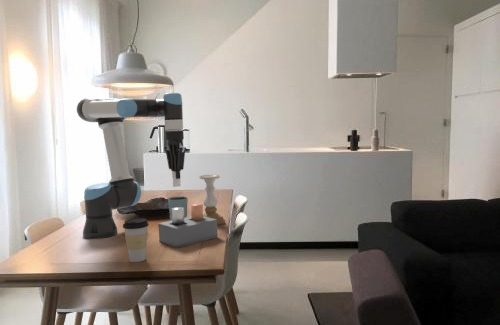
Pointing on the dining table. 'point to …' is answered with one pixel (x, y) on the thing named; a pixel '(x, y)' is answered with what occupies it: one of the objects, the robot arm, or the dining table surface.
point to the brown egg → (196, 212)
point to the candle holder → (211, 199)
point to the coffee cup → (136, 238)
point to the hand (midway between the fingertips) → (176, 186)
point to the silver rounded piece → (178, 216)
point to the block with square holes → (187, 232)
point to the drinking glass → (177, 204)
